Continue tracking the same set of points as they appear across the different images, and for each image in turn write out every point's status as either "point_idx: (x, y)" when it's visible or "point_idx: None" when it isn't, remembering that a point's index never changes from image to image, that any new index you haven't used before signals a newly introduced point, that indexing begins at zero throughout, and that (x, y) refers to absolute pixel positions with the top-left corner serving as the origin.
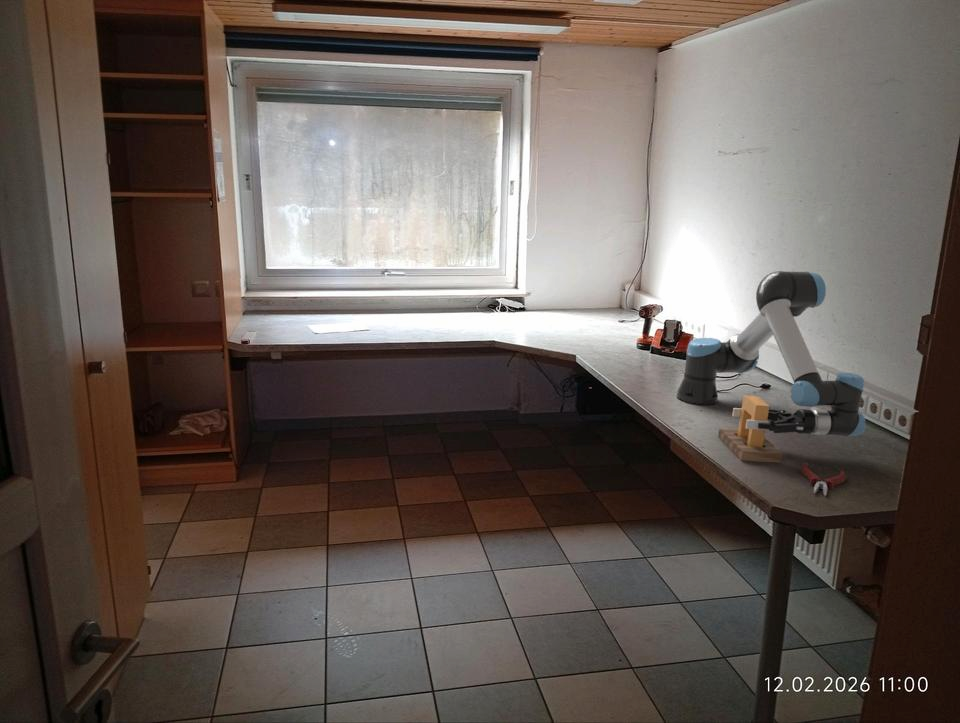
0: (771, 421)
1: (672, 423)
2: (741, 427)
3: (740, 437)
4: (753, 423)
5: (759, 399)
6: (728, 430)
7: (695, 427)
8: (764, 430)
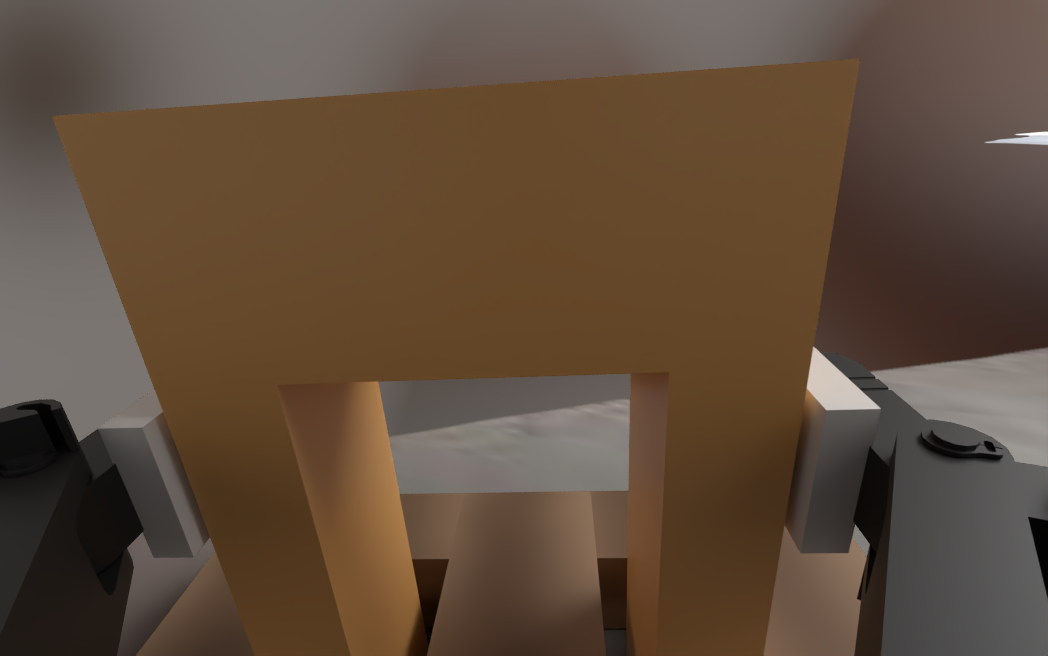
0: (20, 421)
1: (921, 387)
2: (629, 506)
3: (589, 582)
4: None
5: (544, 82)
6: (787, 538)
7: None
8: (230, 558)
